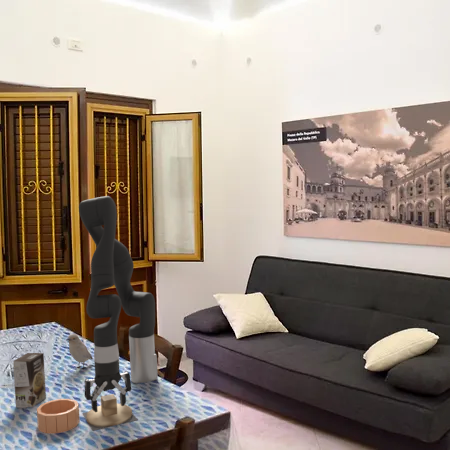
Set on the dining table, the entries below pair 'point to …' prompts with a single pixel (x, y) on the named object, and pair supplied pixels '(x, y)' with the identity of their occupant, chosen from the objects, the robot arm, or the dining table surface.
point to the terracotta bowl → (58, 416)
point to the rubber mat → (108, 426)
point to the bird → (78, 349)
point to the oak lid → (109, 413)
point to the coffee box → (29, 380)
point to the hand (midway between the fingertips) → (109, 408)
